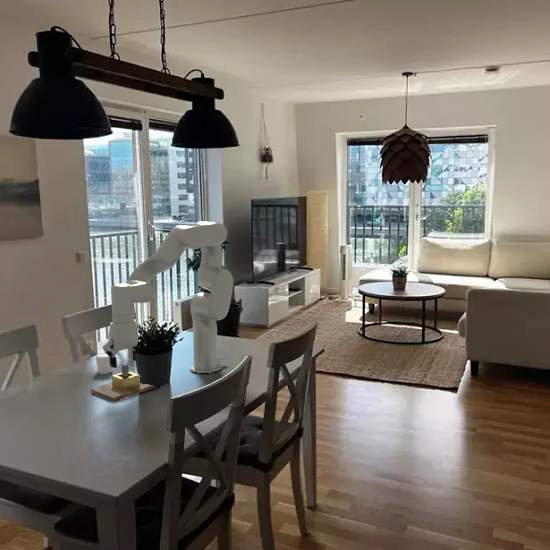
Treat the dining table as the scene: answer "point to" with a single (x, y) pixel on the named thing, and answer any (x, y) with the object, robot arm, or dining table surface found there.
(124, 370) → the post
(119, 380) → the brass link
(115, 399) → the keeper board
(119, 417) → the dining table surface
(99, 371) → the white tapered cup
